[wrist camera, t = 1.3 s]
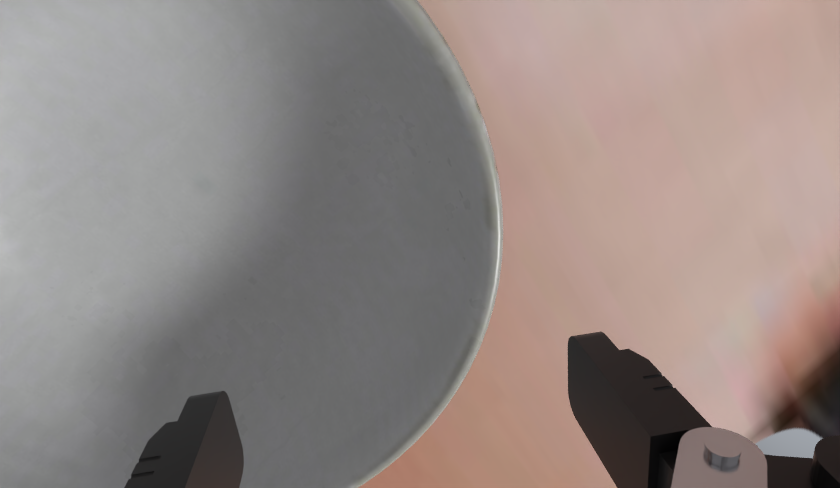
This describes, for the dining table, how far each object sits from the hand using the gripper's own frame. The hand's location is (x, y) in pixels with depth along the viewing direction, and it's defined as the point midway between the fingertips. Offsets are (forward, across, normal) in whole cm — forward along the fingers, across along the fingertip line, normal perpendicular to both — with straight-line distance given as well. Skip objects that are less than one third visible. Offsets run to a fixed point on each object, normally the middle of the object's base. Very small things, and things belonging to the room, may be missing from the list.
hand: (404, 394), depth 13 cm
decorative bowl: (+20, +9, -2) cm, 22 cm away
